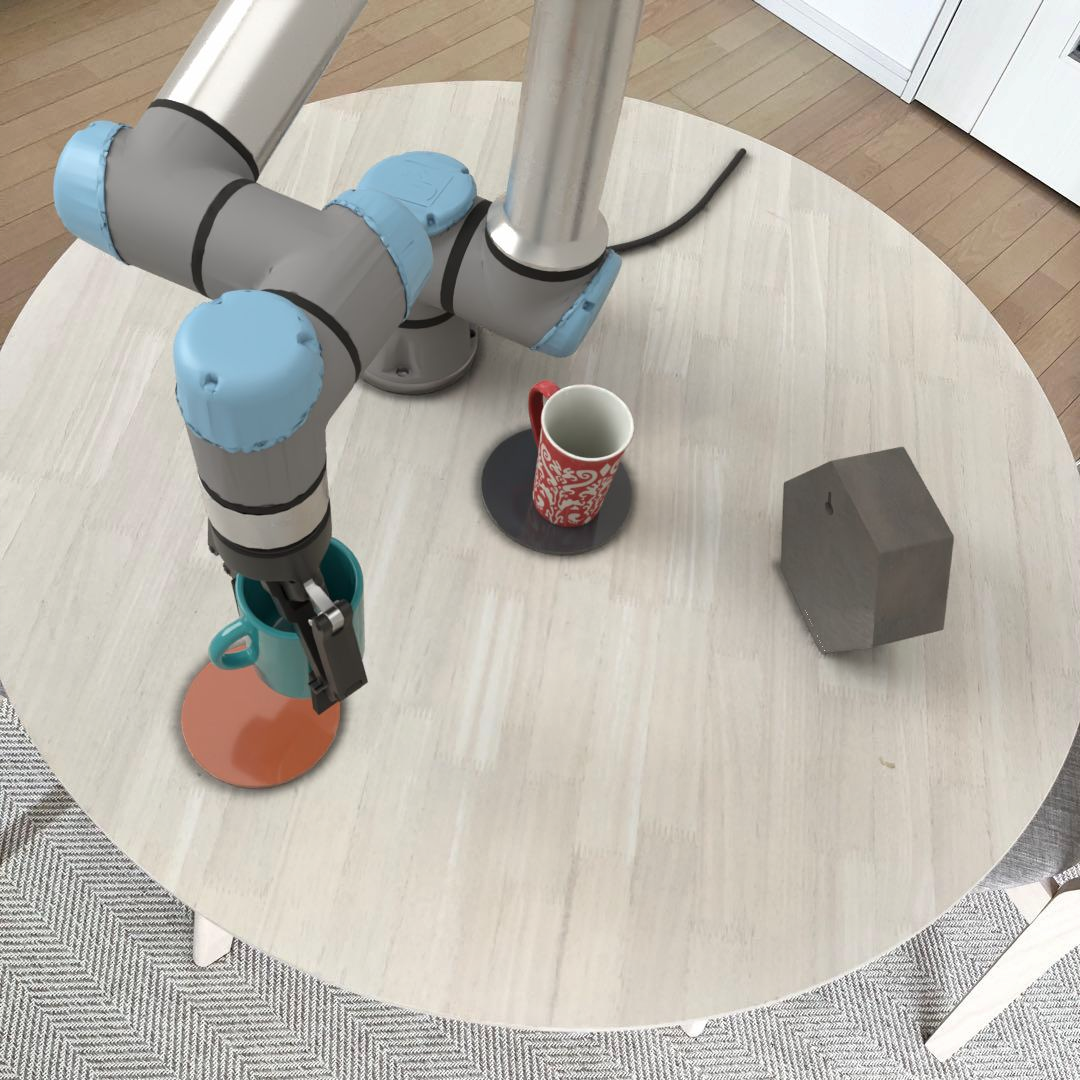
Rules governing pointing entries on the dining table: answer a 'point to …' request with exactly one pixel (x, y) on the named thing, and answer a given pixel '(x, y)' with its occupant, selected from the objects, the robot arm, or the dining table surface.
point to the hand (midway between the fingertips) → (292, 657)
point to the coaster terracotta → (252, 728)
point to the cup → (286, 626)
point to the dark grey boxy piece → (865, 551)
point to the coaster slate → (519, 518)
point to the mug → (576, 448)
